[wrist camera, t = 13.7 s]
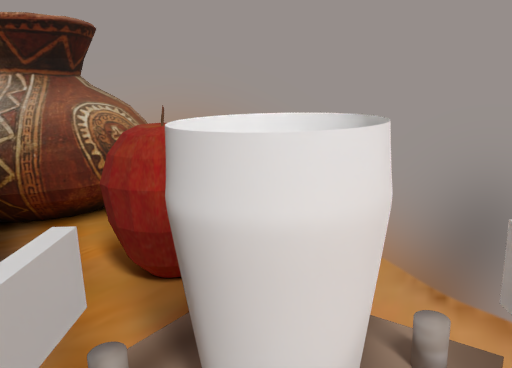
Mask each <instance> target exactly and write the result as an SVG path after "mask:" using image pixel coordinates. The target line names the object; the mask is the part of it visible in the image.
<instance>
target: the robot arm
mask: <svg viewBox="0 0 512 368" xmlns="http://www.w3.org/2000/svg"><path fill="white" fill-rule="evenodd" d="M500 304H501V305H502V306H503V307H504V308H505V309H506V310H507V311H508V312H509V313H510V314H511V315H512V220H509V227H508V235H507V243H506V253H505V261H504V270H503V278H502V288H501V296H500ZM86 308H87V305H86V297H85V289H84V281H83V274H82V266H81V258H80V251H79V243H78V235H77V228H76V227H51V228H50V229H48V230H47V231H45V232H44V233H43V234H41V235H40V236H38V237H37V238H35V239H34V240H32V241H31V242H29V243H28V244H26V245H25V246H23V247H22V248H20V249H19V250H17V251H16V252H15V253H13V254H12V255H10V256H9V257H7V258H6V259H4V260H3V261H1V262H0V368H39V367H40V365H41V364H42V363H43V362H44V360H45V359H46V358H47V357H48V355H49V354H50V353H51V352H52V350H53V349H54V348H55V347H56V345H57V344H58V343H59V342H60V340H61V339H62V338H63V337H64V335H65V334H66V333H67V332H68V330H69V329H70V328H71V327H72V325H73V324H74V323H75V322H76V320H77V319H78V318H79V317H80V315H81V314H82V313H83V312H84V310H85V309H86Z"/></svg>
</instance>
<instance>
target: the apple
mask: <svg viewBox="0 0 512 368" xmlns="http://www.w3.org/2000/svg"><path fill="white" fill-rule="evenodd" d="M163 121H164V107H162V115H161V123H154V124H153V123H152V124H141V125H136V126H134V127H132V128H130V129H128V130H126V131H124V132H123V133H122V134H121V135H120V137H119V138H118V139H117V141H116V142H115V144H114V145H113V146H112V148H111V149H110V151H109V152H108V153H107V156H106V160H105V164H104V168H103V172H102V175H101V179H100V183H99V184H100V188H101V192H102V196H103V200H104V204H105V208H106V212H107V217H108V221H109V223H110V225H111V226H112V228H113V230H114V232H115V234H116V235H117V237H118V239H119V241H120V243H121V244H122V246H123V248H124V250H125V252H126V254H127V255H128V257H129V258H130V259H131V260H132V261H133V262H134V263H135V264H137V265H139V266H140V267H142V268H143V269H145V270H146V271H148V272H149V273H151V274H153V275H155V276H159V277H166V278H172V277H181V272H180V268H179V263H178V259H177V254H176V250H175V245H174V241H173V236H172V232H171V227H170V222H169V218H168V213H167V207H166V200H165V189H166V146H165V124H166V123H163Z"/></svg>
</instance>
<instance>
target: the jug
mask: <svg viewBox="0 0 512 368" xmlns="http://www.w3.org/2000/svg"><path fill="white" fill-rule="evenodd" d="M95 31H96V28H95V27H94V26H93V25H92V24H90V23H88V22H85V21H82V20H79V19H74V18H70V17H66V16H51V15H43V14H35V13H26V12H25V13H24V12H0V222H23V221H38V220H48V219H56V218H64V217H71V216H75V215H80V214H84V213H88V212H92V211H96V210H98V209H101V208H104V207H105V204H104V200H103V196H102V192H101V188H100V184H99V183H100V179H101V175H102V172H103V168H104V164H105V160H106V156H107V153H108V152H109V151H110V149H111V148H112V146H113V145H114V144H115V142H116V141H117V139H118V138H119V137H120V135H121V134H122V133H123V132H124V131H126V130H128V129H130V128H132V127H134V126H136V125H141V124H148V123H147V122H146V121H145V120H144V119H143V118H142V117H141V116H140V115H139V114H138V113H137V112H136V111H135V110H134V109H133V108H132V107H131V106H130V105H128V104H126V103H125V102H123V101H121V100H120V99H118V98H116V97H115V96H113V95H111V94H109V93H107V92H105V91H103V90H101V89H99V88H96V87H94V86H93V85H91V84H90V83H89V82H87V81H86V80H85V79H84V78H82V77H81V76H80V75H81V70H82V66H83V61H84V58H85V55H86V53H87V51H88V48H89V45H90V43H91V41H92V38H93V36H94V33H95Z"/></svg>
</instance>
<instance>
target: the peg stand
mask: <svg viewBox="0 0 512 368" xmlns="http://www.w3.org/2000/svg"><path fill="white" fill-rule="evenodd" d="M450 323H451V322H450V319H449V318H448V317H447V316H445V315H444V314H442V313H439V312H436V311H430V310H422V311H418V312H416V313H415V314H414V320H413V328H410V327H407V326H404V325H401V324H397V323H394V322H391V321H388V320H385V319H381V318H378V317H375V316H372V315H370V317H369V322H368V328H367V333H366V338H365V343H364V348H363V353H362V358H361V363H360V368H502V367H503V359H504V357H503V356H500V355H496V354H493V353H490V352H487V351H484V350H480V349H477V348H474V347H471V346H468V345H465V344H461V343H458V342H455V341H452V340H449V334H450ZM87 361H88V368H202V366H201V362H200V357H199V353H198V348H197V344H196V339H195V335H194V330H193V326H192V321H191V317H190V313H187V314H185V315H184V316H182V317H180V318H179V319H177V320H175V321H174V322H172V323H170V324H168V325H167V326H165V327H163V328H162V329H160V330H158V331H157V332H155V333H153V334H152V335H150V336H148V337H147V338H145V339H143V340H142V341H140V342H138V343H137V344H135V345H133V346H132V347H130V348H128V349H127V348H126V346H125V345H124V344H123V343H120V342H107V343H103V344H100V345H98V346H96V347H94V348H93V349H92V350H91V351H90V352H89V353H88V355H87Z"/></svg>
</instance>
